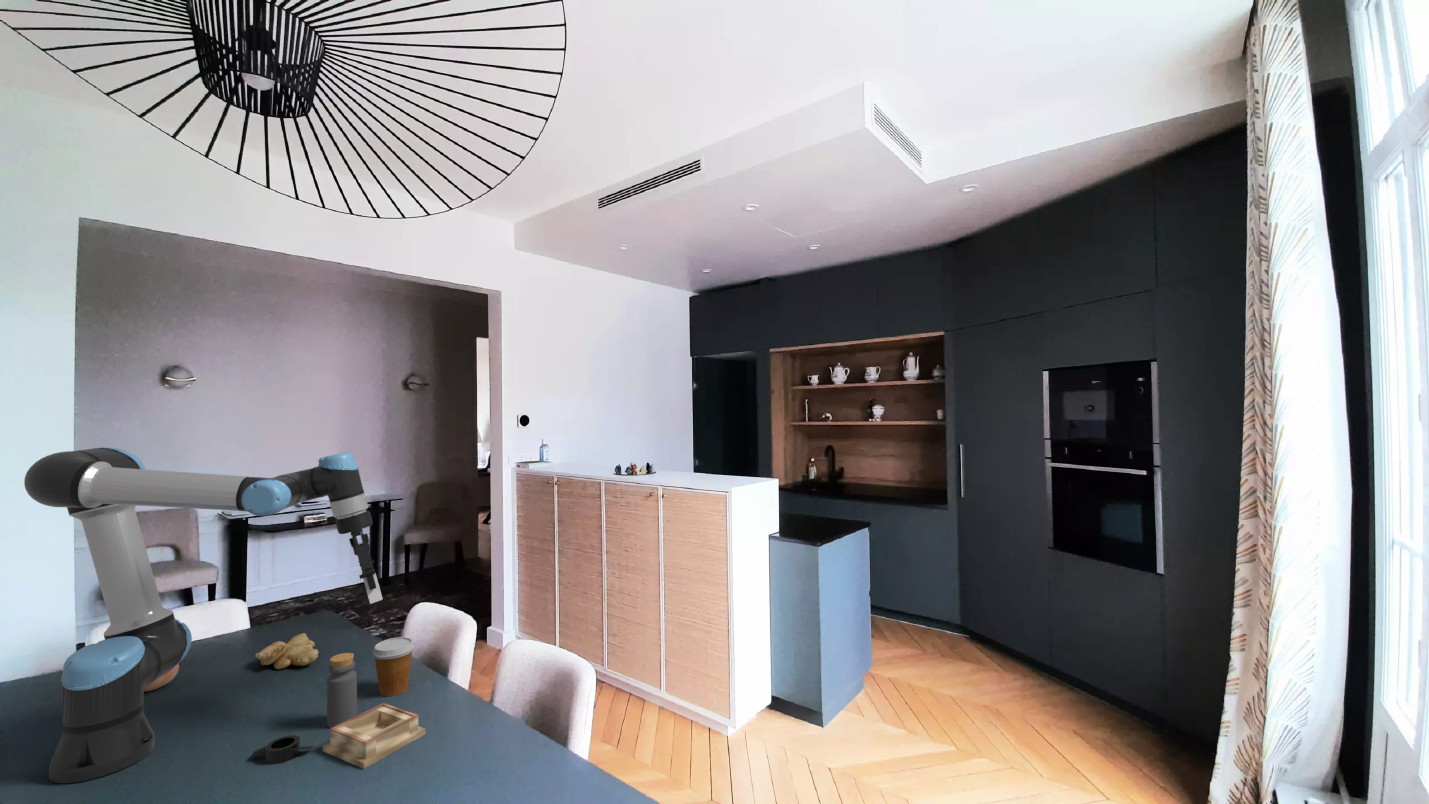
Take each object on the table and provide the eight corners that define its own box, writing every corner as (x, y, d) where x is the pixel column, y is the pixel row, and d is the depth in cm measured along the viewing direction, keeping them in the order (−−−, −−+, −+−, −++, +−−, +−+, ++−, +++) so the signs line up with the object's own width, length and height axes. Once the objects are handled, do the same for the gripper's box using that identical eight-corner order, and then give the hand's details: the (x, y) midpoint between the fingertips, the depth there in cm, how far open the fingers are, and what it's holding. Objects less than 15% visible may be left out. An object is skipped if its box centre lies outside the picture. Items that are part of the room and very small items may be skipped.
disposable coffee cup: (382, 703, 145) (382, 654, 145) (365, 692, 150) (365, 645, 150) (421, 688, 152) (421, 642, 152) (404, 678, 158) (404, 633, 158)
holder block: (322, 750, 125) (322, 729, 125) (384, 719, 137) (384, 699, 137) (364, 769, 119) (364, 746, 119) (425, 734, 131) (425, 713, 131)
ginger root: (258, 653, 171) (266, 625, 172) (321, 656, 177) (329, 630, 178) (241, 678, 157) (250, 647, 157) (310, 680, 163) (318, 651, 164)
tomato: (190, 679, 158) (190, 649, 158) (147, 699, 147) (147, 667, 147) (154, 677, 159) (154, 647, 159) (109, 697, 148) (109, 665, 148)
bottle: (342, 729, 133) (342, 663, 133) (320, 726, 134) (320, 661, 134) (362, 716, 139) (362, 652, 139) (341, 713, 140) (341, 650, 140)
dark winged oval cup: (286, 742, 129) (286, 728, 129) (317, 751, 125) (317, 738, 125) (247, 762, 122) (247, 748, 122) (279, 773, 118) (279, 758, 118)
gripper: (372, 513, 137) (395, 599, 139) (366, 505, 158) (387, 580, 160) (334, 524, 133) (359, 613, 135) (334, 514, 154) (355, 592, 156)
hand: (374, 595), depth 147 cm, fingers open, 13 cm apart
